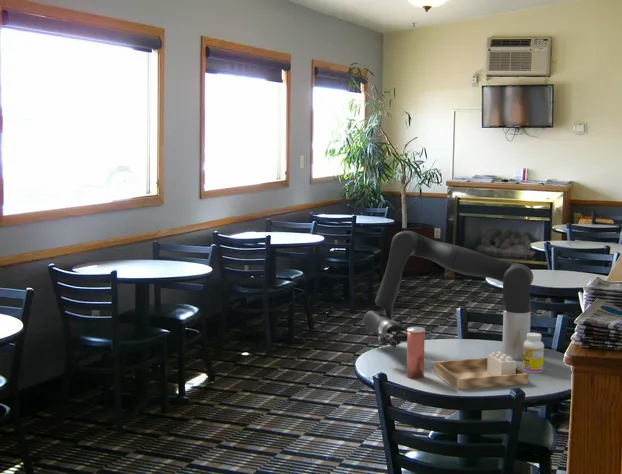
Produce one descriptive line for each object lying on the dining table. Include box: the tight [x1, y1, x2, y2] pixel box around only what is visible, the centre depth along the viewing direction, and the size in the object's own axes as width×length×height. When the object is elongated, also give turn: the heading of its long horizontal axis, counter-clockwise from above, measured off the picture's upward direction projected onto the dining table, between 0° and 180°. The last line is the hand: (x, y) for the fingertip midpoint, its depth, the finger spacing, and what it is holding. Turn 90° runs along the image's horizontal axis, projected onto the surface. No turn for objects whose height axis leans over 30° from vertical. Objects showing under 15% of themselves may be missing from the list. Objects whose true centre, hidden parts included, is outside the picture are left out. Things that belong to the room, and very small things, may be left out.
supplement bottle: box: [522, 332, 545, 373], centre depth 269 cm, size 7×7×13 cm
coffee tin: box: [406, 326, 426, 380], centre depth 264 cm, size 6×6×16 cm
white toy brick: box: [487, 350, 517, 376], centre depth 262 cm, size 5×10×7 cm, turn 13°
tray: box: [433, 357, 529, 392], centre depth 261 cm, size 24×20×4 cm
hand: (407, 343), depth 271 cm, fingers open, 8 cm apart
